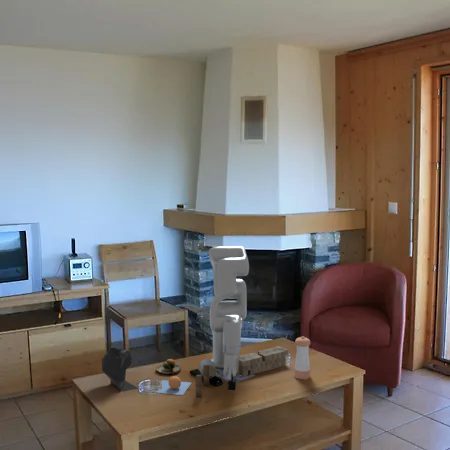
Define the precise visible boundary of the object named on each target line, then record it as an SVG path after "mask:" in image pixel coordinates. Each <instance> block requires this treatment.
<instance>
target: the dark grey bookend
mask: <svg viewBox="0 0 450 450" xmlns="http://www.w3.org/2000/svg"><path fill="white" fill-rule="evenodd" d="M132 360H133V357H132V354H131V350H128V349H121V348H120V349H119V348H117V347H113V346H110V347H109V349H108V350H107V352H106V353H105V354H104V356H102V358H101V371H102V372H103V374H105V376H106V377H107V378H108V379H110V385H111V386H113V385H114V386H116V388H118V389H119V391H120V392H125V391H132V390H139V388H138V387H139V386H138V385H135V384H134V383H130V382H128V381H126V372H127V369H128V368H130V367H131V366H132V363H133V361H132Z"/></svg>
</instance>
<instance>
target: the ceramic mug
mask: <svg viewBox="0 0 450 450" xmlns="http://www.w3.org/2000/svg"><path fill="white" fill-rule="evenodd" d="M211 360H212V359H209V358H204V359H202V360H201V361H200V362H199V364H198V369H199V372H200V375H202V378H204V370H203V365H209V376H212V377H213V378H215V377H217V378H221V377H222V375H223V373H222V372H221V370H219V369H217V367H215V365H214V363H213V361H211Z"/></svg>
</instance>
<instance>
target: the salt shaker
mask: <svg viewBox="0 0 450 450" xmlns="http://www.w3.org/2000/svg"><path fill="white" fill-rule="evenodd" d="M294 342H295V343H294V344H295V346H296V356H295V361H294V362H295V363H294V364H295V367H294V374H293V375H294V378H295V379H298V380H308V379H310V378H311V369H310V364H311V363H310V356H309V352H310V351H309V348H310V347H309V346H310V345H311V340H310V339H309V338H307V337H305V336H303V335H302V336H299V337H297V338H296V339H295V341H294Z"/></svg>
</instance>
